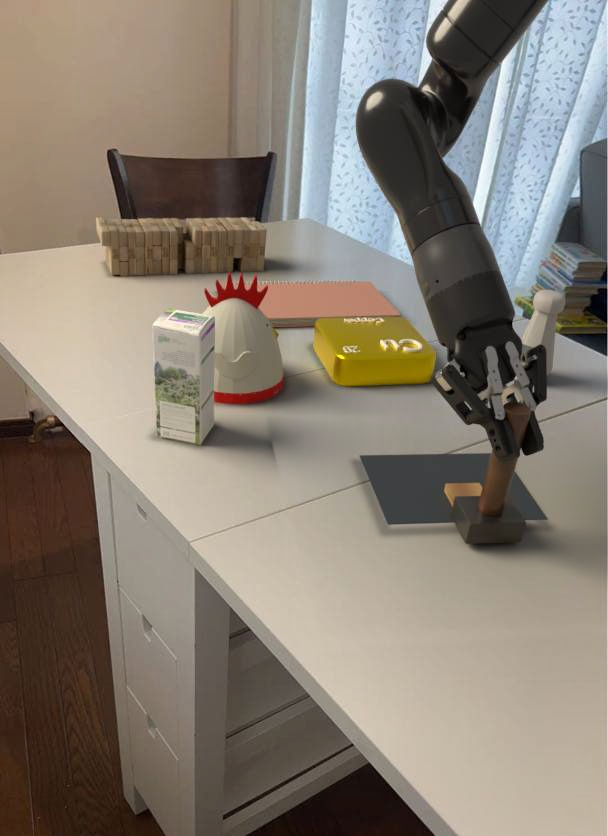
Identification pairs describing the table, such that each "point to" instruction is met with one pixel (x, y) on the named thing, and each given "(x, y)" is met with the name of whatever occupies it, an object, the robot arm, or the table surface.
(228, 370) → the kitchen timer
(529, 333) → the salt shaker
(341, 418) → the table surface
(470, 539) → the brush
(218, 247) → the block tower
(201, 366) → the syrup box
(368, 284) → the notebook
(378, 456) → the board
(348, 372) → the element tile
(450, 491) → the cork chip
